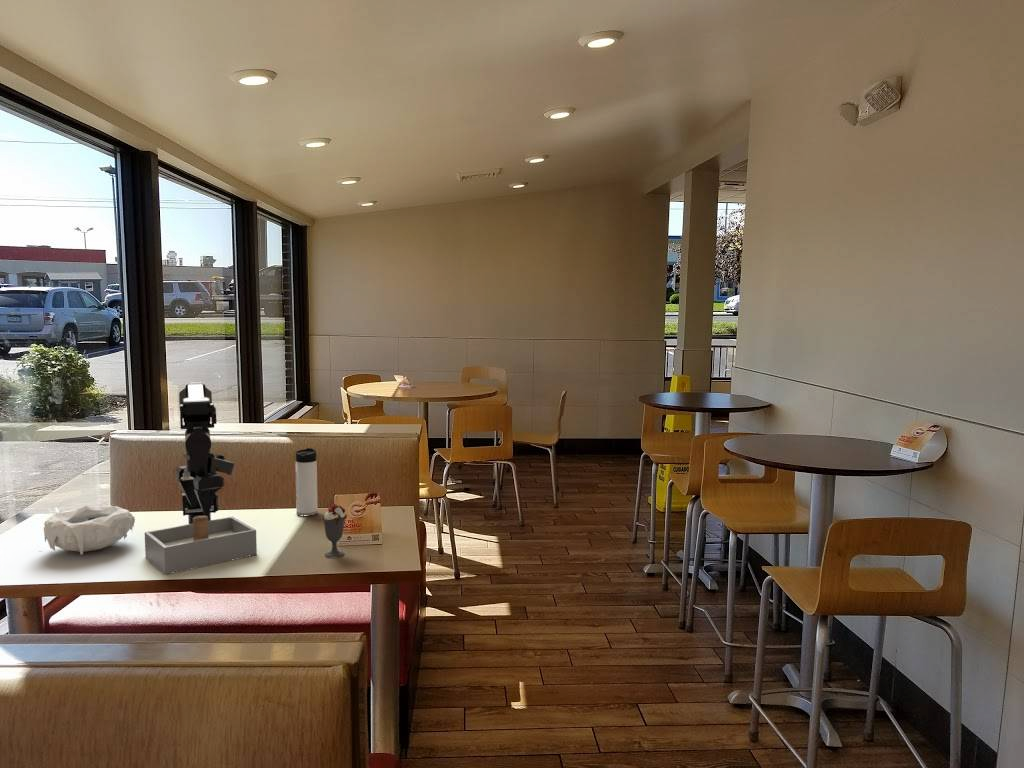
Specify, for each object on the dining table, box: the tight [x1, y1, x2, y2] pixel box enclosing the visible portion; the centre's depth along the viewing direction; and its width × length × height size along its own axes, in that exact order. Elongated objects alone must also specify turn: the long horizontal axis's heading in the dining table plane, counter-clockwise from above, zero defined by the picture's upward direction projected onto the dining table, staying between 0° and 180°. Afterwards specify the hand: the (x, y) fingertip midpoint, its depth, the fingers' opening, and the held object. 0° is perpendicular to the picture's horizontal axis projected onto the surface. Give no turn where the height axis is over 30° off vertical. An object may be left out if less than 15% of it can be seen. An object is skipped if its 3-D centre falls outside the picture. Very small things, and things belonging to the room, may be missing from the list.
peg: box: [193, 516, 209, 541], centre depth 182 cm, size 4×4×10 cm
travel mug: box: [295, 447, 319, 516], centre depth 221 cm, size 6×7×20 cm
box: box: [144, 516, 258, 575], centre depth 182 cm, size 16×22×6 cm
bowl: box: [43, 504, 136, 556], centre depth 187 cm, size 21×20×10 cm
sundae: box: [320, 499, 348, 558], centre depth 184 cm, size 7×7×15 cm
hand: (200, 510), depth 181 cm, fingers open, 9 cm apart
